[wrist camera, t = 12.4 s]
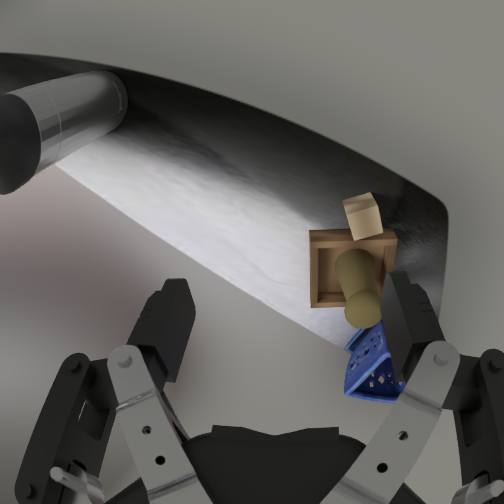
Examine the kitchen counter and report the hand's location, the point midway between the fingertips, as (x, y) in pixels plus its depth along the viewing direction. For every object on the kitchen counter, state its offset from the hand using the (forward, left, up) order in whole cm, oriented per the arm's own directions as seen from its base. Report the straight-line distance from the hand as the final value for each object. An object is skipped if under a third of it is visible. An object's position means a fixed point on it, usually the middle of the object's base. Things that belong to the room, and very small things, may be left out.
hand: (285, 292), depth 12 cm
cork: (+9, -20, -28) cm, 35 cm away
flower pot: (+16, -36, -28) cm, 49 cm away
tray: (+8, -20, -28) cm, 35 cm away
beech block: (+9, -11, -28) cm, 32 cm away
